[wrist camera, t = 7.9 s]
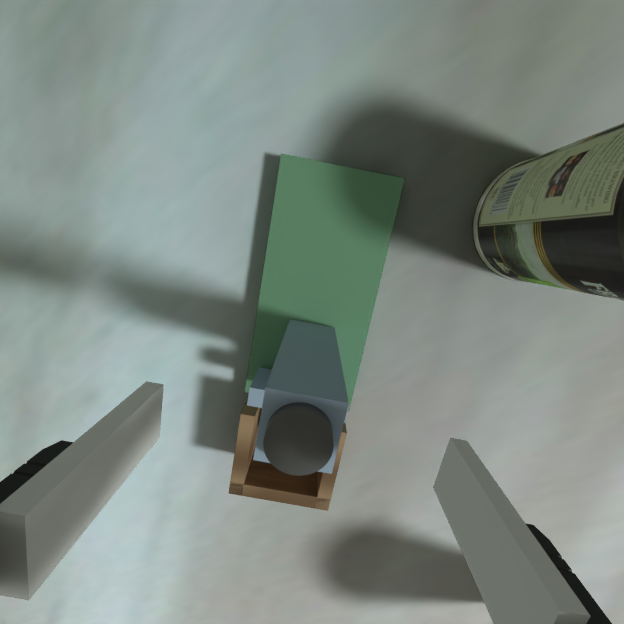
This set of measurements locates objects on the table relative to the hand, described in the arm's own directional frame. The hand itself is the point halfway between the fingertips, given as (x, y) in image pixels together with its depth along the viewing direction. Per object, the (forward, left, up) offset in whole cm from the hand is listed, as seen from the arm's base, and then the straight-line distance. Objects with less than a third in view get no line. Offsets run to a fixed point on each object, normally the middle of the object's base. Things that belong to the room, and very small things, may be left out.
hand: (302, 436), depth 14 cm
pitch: (-4, 0, -16) cm, 16 cm away
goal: (+10, 0, -16) cm, 19 cm away
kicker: (+2, 0, -14) cm, 14 cm away
